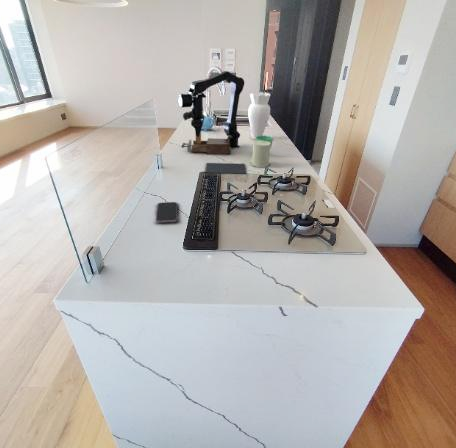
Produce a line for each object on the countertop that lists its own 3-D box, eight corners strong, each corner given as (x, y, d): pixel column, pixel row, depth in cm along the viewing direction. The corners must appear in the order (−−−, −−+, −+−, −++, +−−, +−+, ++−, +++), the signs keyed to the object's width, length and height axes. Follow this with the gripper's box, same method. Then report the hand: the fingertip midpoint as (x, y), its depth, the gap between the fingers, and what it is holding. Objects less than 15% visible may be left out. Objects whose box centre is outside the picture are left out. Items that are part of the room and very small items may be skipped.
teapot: (214, 131, 216) (215, 117, 210) (197, 132, 214) (197, 117, 208) (212, 127, 227) (212, 114, 221) (195, 128, 224) (195, 114, 219)
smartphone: (176, 202, 112) (177, 219, 99) (177, 204, 112) (177, 222, 99) (158, 202, 111) (155, 221, 98) (158, 205, 111) (155, 223, 98)
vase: (242, 138, 198) (245, 93, 183) (252, 134, 209) (255, 91, 194) (261, 142, 192) (266, 95, 177) (270, 137, 202) (275, 93, 187)
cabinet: (206, 154, 167) (206, 143, 164) (207, 148, 178) (207, 138, 175) (229, 154, 167) (230, 144, 164) (229, 148, 178) (229, 138, 175)
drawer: (181, 152, 167) (180, 144, 165) (183, 146, 177) (183, 139, 175) (208, 152, 167) (208, 145, 165) (209, 147, 177) (209, 140, 175)
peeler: (195, 148, 170) (195, 128, 164) (196, 146, 173) (195, 127, 167) (201, 148, 170) (200, 128, 164) (201, 147, 173) (201, 127, 167)
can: (270, 162, 156) (272, 140, 150) (266, 168, 149) (269, 145, 142) (253, 160, 159) (255, 138, 152) (249, 165, 151) (251, 143, 145)
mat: (244, 164, 153) (244, 163, 153) (245, 174, 141) (245, 173, 141) (207, 163, 153) (207, 163, 153) (205, 173, 141) (205, 172, 141)
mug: (271, 158, 163) (273, 140, 158) (254, 157, 164) (256, 139, 159) (270, 150, 176) (272, 134, 170) (254, 149, 176) (255, 133, 171)
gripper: (185, 103, 167) (186, 130, 175) (181, 109, 151) (182, 138, 160) (204, 103, 167) (204, 131, 175) (202, 109, 151) (202, 139, 159)
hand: (198, 134), depth 167 cm, fingers open, 9 cm apart
